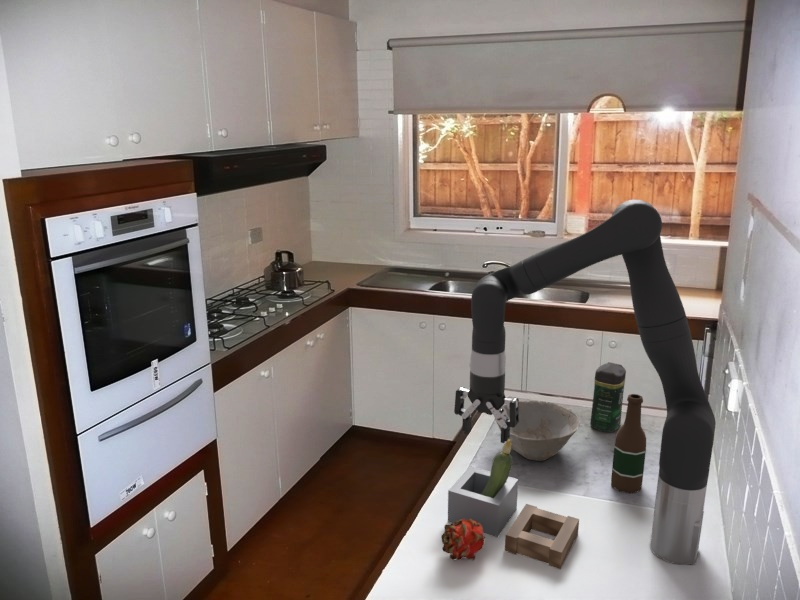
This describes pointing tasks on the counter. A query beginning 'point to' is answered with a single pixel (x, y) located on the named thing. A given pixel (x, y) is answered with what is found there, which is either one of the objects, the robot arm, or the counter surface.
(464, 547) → the dragon fruit
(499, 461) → the vegetable
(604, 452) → the counter surface
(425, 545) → the counter surface
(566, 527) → the board
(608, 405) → the coffee jar
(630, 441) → the beer bottle
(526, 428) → the ceramic bowl
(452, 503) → the holder
